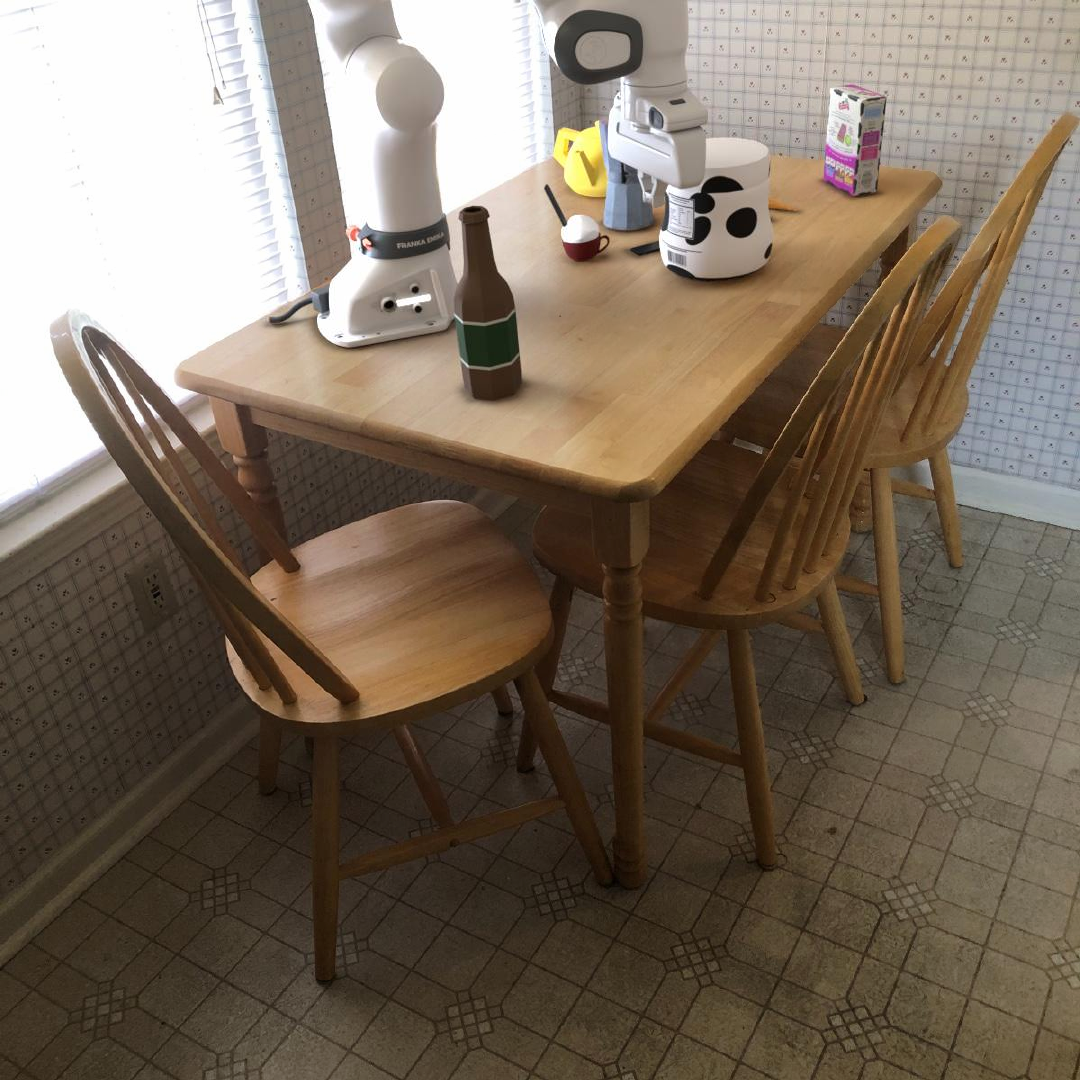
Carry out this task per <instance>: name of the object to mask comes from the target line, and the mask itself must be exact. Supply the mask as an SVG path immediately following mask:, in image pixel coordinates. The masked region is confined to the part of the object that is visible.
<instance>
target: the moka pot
mask: <svg viewBox="0 0 1080 1080" xmlns="http://www.w3.org/2000/svg"><path fill="white" fill-rule="evenodd" d="M609 118H610V115H609V116H606V117H604V118H602V119H599V120H600V121H599V120H598V121H599V122H598V125H599V131H600V138H601V145H602V152H603V159H604V165H605V167H606V169H607V178H608V183H607V192H606V197H605V201H604V202H605V203H604V210H603V211H604V213H603V222H602V224H603V226H604V227H606V228H607V229H611V230H617V231H627V232H628V231H636V230H641V229H644V228H648V227H650V226H652V225H653V224H654V223H655V220H654V219H655V218H654V217H655V216H654V210H653V206H651V205H649V204H647V203H645V202H644V201H643V190H642V187H641V184H640V181H639V178H638V170H637V169H635V168H633V167H631V166H629V165H627V164H624V163H622V162H620V161H618V160H616V159H614V158H612V157H611V156H610V153H609V150H608V131H609Z"/></svg>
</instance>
